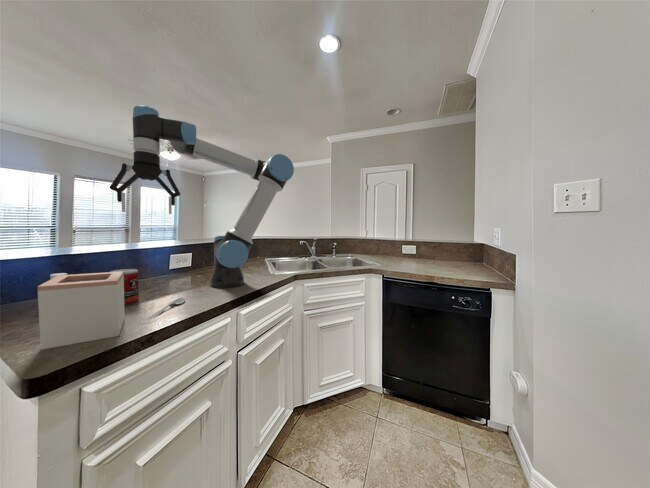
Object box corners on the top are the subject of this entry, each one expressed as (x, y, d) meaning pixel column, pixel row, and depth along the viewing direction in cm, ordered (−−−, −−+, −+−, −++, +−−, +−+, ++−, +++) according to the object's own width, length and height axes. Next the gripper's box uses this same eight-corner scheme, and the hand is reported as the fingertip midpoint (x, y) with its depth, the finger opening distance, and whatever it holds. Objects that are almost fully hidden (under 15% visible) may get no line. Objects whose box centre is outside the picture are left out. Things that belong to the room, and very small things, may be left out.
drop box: (124, 318, 70) (123, 271, 69) (118, 335, 60) (117, 280, 59) (60, 328, 63) (58, 275, 62) (40, 349, 52) (37, 286, 51)
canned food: (123, 305, 81) (122, 273, 80) (104, 303, 82) (103, 271, 81) (144, 299, 88) (144, 269, 87) (126, 297, 90) (126, 268, 89)
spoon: (188, 301, 88) (188, 297, 88) (149, 324, 68) (149, 318, 68) (176, 301, 88) (176, 297, 88) (134, 324, 68) (134, 318, 67)
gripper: (186, 161, 96) (186, 215, 97) (101, 148, 81) (103, 211, 83) (188, 157, 90) (188, 214, 91) (97, 142, 75) (99, 210, 77)
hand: (148, 213), depth 87 cm, fingers open, 13 cm apart
